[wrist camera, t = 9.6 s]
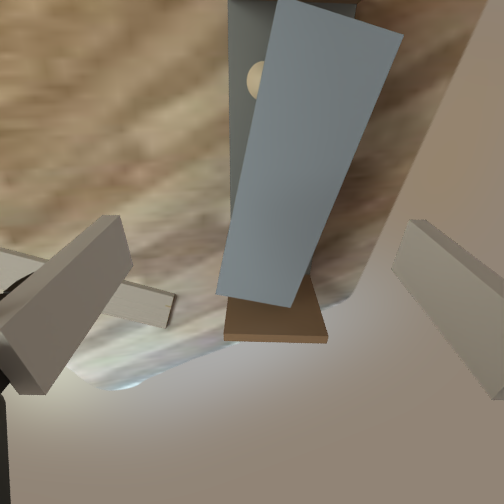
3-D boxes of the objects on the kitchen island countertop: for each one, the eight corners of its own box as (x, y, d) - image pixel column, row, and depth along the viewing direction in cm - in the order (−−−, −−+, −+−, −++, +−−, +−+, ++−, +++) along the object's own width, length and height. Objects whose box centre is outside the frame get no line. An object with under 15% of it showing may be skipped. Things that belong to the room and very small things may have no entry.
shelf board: (220, 271, 34) (215, 294, 30) (274, 12, 21) (279, -6, 17) (286, 284, 35) (290, 308, 31) (377, 45, 22) (404, 34, 18)
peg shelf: (231, 275, 42) (223, 340, 31) (228, -15, 25) (207, -106, 13) (307, 277, 42) (326, 343, 31) (356, -11, 25) (440, -96, 14)
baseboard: (165, 330, 49) (175, 291, 44) (160, 342, 47) (171, 302, 42) (-14, 287, 44) (-24, 237, 39) (-30, 298, 42) (-43, 247, 37)
